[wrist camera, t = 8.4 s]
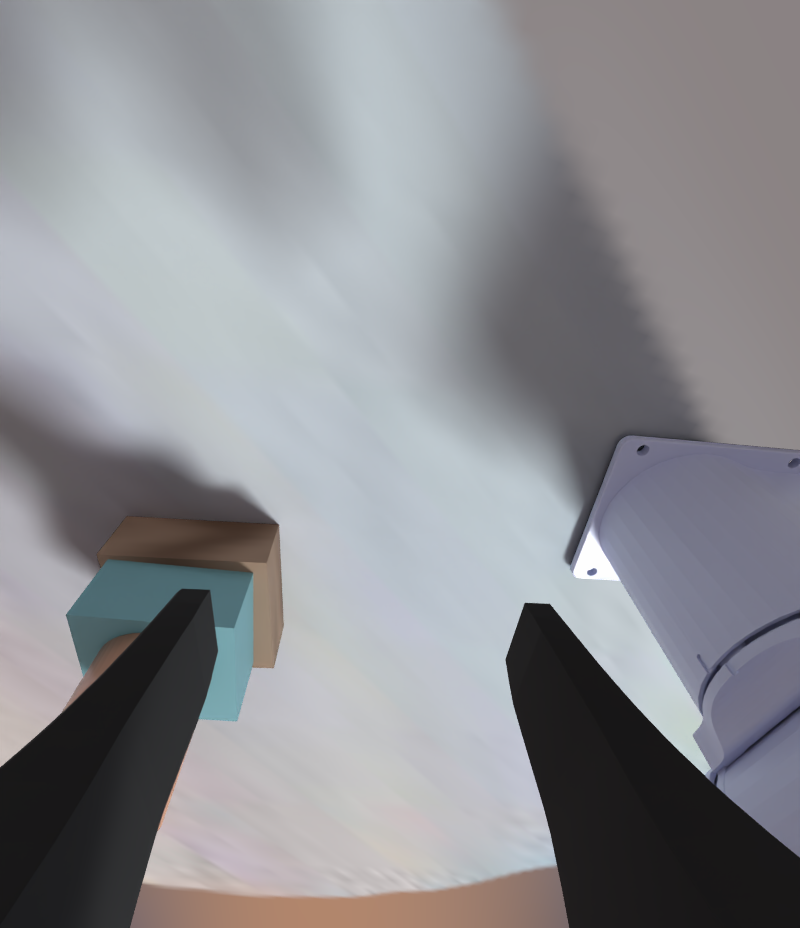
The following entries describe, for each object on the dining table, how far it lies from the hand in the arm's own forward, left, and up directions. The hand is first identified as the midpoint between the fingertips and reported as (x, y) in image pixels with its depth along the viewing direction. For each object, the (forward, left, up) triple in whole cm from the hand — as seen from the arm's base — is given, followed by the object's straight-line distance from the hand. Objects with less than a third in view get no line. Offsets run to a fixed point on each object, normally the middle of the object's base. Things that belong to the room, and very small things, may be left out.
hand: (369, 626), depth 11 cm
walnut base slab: (+8, +9, -11) cm, 16 cm away
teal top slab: (+8, +9, -8) cm, 14 cm away
